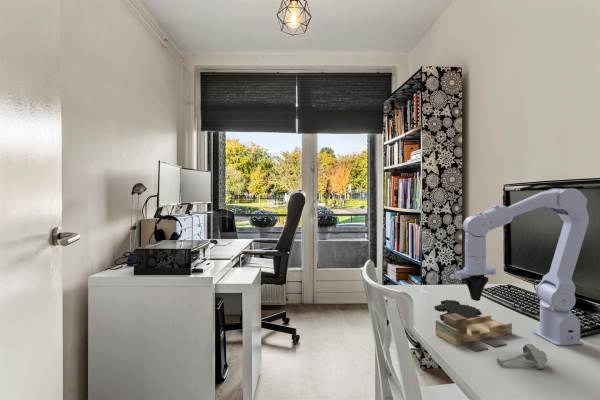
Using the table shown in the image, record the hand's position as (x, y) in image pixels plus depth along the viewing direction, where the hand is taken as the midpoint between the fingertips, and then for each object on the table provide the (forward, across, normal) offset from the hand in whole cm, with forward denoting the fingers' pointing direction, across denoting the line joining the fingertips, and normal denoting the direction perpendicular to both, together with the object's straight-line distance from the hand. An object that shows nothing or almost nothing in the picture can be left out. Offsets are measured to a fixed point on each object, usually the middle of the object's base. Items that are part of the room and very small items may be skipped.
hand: (475, 299), depth 107 cm
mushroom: (+11, +5, +19) cm, 22 cm away
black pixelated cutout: (+11, -8, -14) cm, 19 cm away
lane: (+10, +1, +3) cm, 11 cm away
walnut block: (+8, +8, 0) cm, 12 cm away
